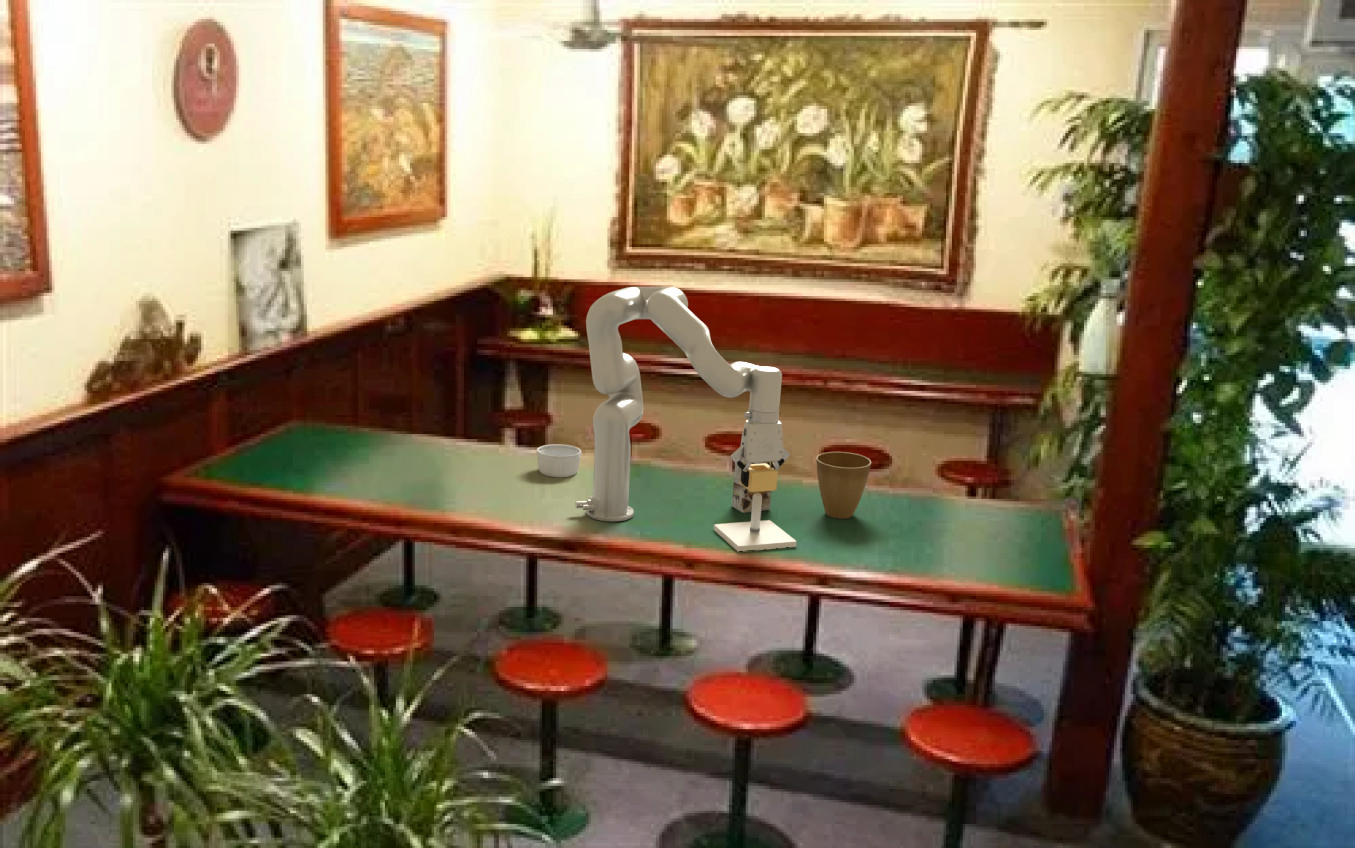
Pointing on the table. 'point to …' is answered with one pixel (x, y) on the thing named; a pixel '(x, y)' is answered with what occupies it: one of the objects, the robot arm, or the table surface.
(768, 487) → the collar
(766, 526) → the post stand
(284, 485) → the table surface
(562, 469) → the ramekin
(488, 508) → the table surface
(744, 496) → the coffee box
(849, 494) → the plant pot
